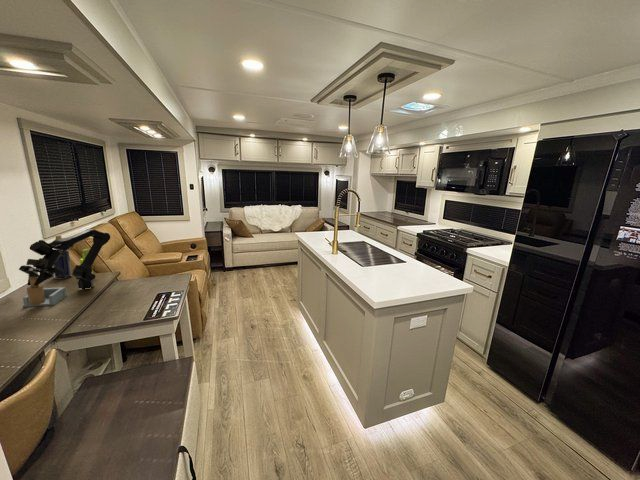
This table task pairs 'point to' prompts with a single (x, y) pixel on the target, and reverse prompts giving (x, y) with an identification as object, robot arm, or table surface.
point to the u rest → (48, 297)
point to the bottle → (63, 263)
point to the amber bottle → (35, 292)
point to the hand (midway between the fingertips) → (31, 285)
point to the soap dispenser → (84, 256)
